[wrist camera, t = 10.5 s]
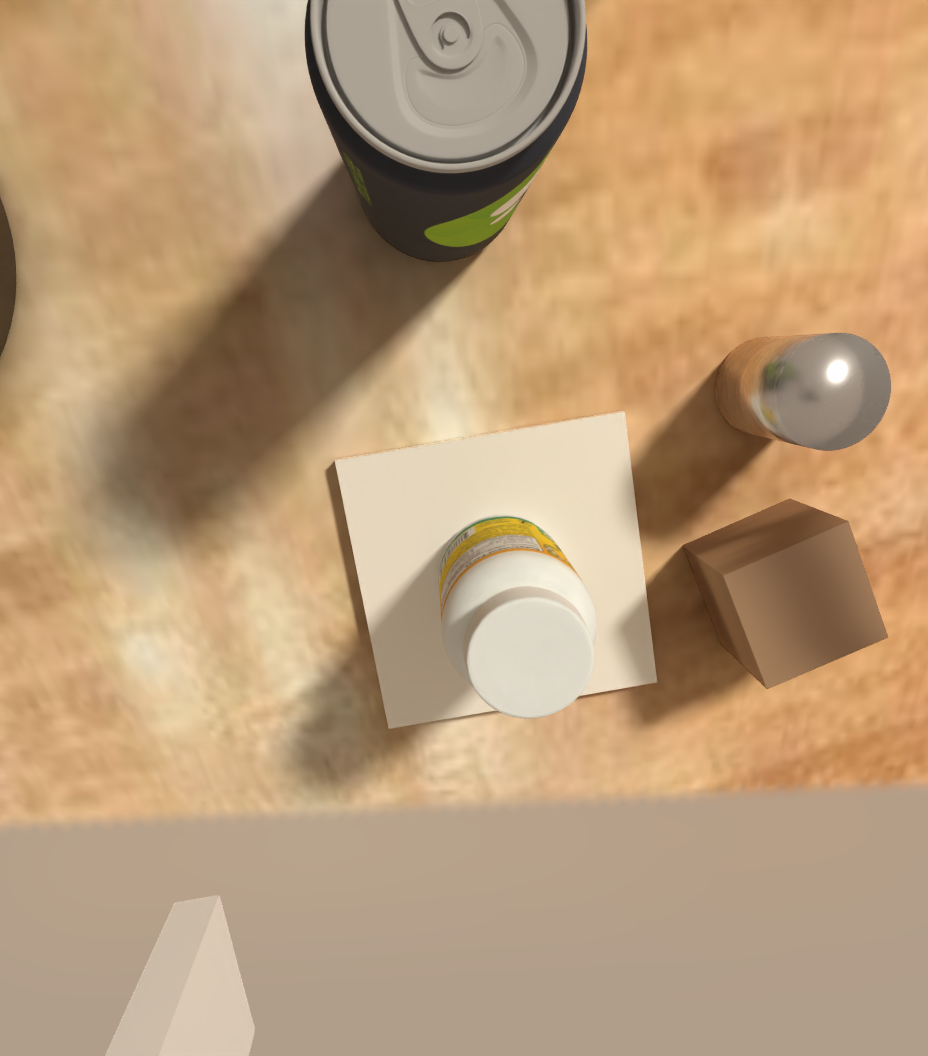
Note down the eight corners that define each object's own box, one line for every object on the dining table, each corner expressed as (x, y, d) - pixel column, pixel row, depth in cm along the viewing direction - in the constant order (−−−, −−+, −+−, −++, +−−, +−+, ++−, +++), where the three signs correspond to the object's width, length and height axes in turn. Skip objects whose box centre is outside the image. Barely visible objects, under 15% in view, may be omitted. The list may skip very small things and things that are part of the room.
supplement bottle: (430, 521, 33) (432, 585, 24) (557, 504, 33) (609, 562, 24) (447, 642, 34) (455, 749, 25) (570, 626, 34) (624, 726, 25)
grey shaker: (719, 441, 34) (781, 459, 28) (710, 346, 33) (772, 343, 27) (812, 426, 34) (893, 440, 28) (805, 329, 33) (888, 323, 27)
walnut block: (720, 644, 36) (767, 689, 31) (681, 545, 35) (723, 575, 30) (825, 599, 36) (888, 637, 31) (788, 498, 35) (848, 521, 30)
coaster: (389, 722, 36) (388, 729, 35) (336, 458, 33) (334, 460, 33) (653, 677, 36) (657, 682, 35) (621, 410, 33) (624, 411, 33)
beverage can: (331, 131, 31) (244, -77, 16) (482, 66, 30) (535, -206, 16) (395, 289, 32) (370, 230, 17) (540, 227, 32) (640, 115, 17)
